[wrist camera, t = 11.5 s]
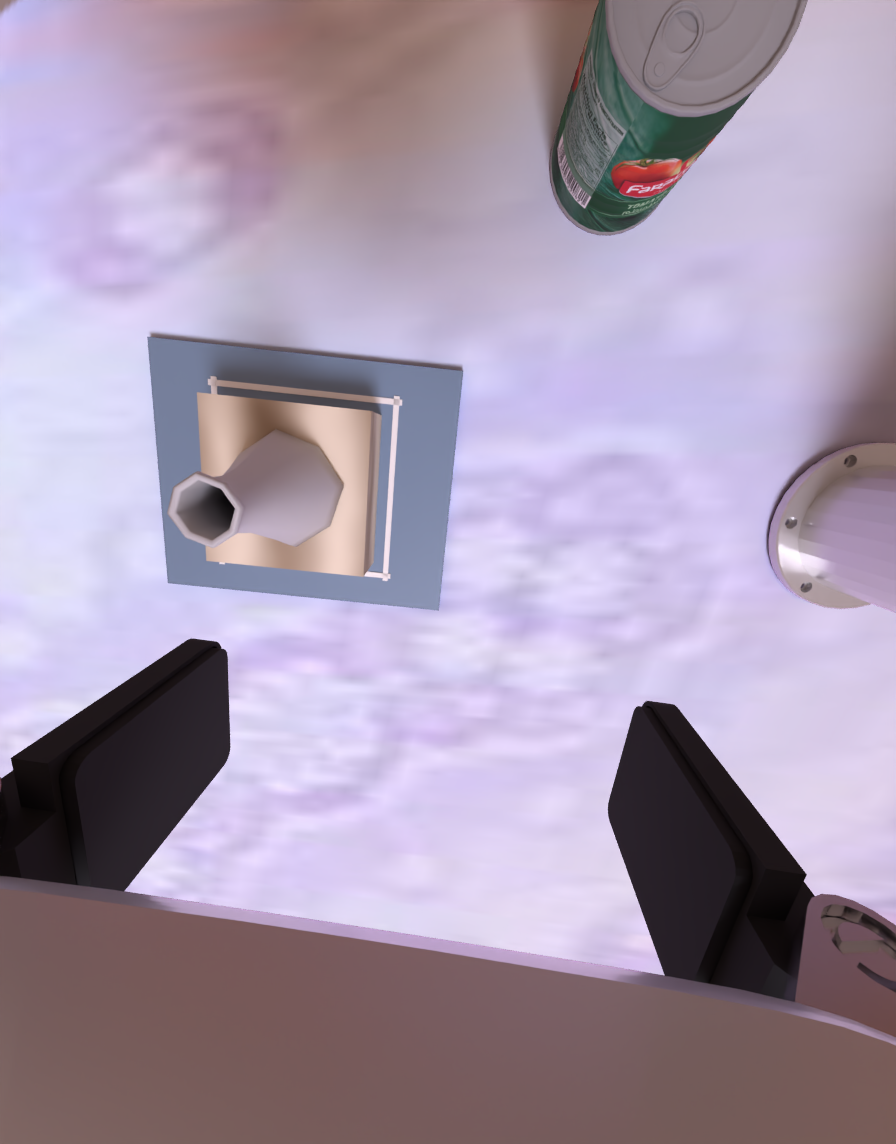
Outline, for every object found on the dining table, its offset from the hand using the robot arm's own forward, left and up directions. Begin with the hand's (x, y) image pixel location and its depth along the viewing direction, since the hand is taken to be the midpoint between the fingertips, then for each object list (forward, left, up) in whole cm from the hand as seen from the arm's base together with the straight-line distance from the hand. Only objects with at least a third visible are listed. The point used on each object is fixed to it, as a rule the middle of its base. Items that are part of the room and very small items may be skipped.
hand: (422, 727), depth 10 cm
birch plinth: (+11, -2, -25) cm, 27 cm away
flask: (+11, -2, -21) cm, 23 cm away
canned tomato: (-8, -24, -25) cm, 36 cm away
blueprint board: (+11, -2, -25) cm, 27 cm away
